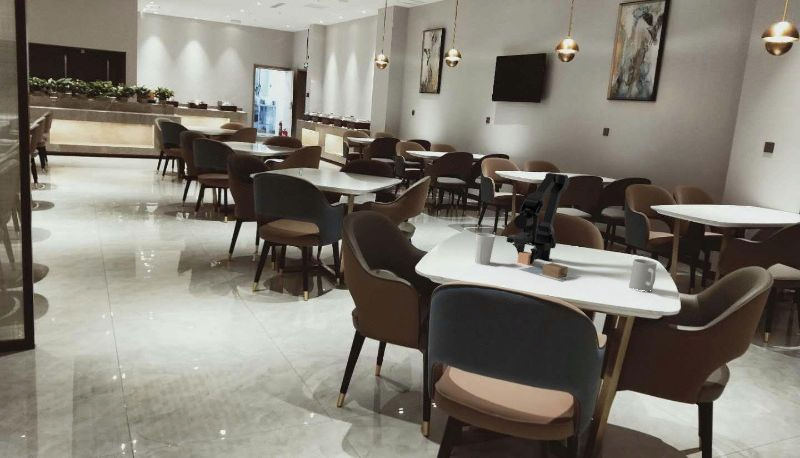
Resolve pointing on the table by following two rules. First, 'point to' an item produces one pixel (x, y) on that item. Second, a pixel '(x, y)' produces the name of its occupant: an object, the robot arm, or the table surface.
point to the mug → (643, 274)
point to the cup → (484, 248)
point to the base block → (554, 270)
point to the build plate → (538, 271)
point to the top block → (524, 258)
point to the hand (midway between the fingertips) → (525, 262)
